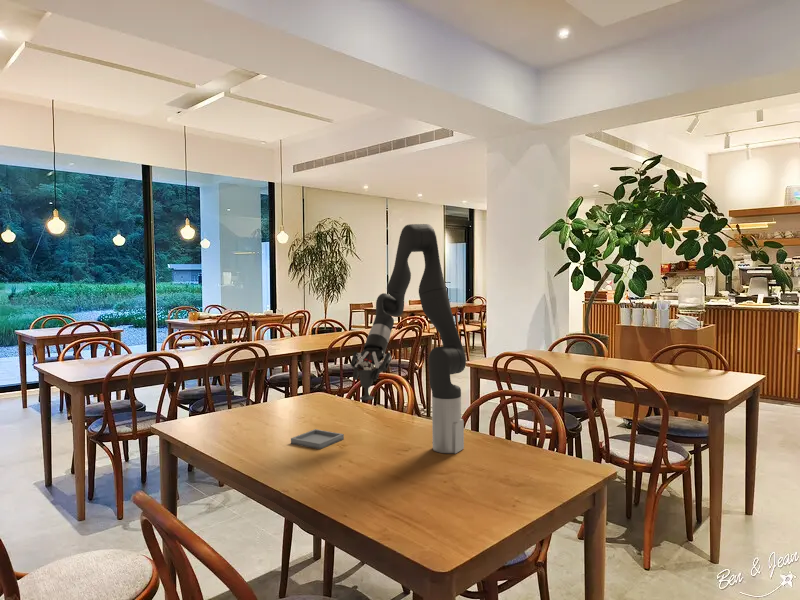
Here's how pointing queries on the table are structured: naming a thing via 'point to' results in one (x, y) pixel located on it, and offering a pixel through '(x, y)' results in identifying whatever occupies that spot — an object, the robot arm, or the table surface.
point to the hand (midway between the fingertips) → (364, 379)
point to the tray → (317, 439)
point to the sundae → (366, 376)
